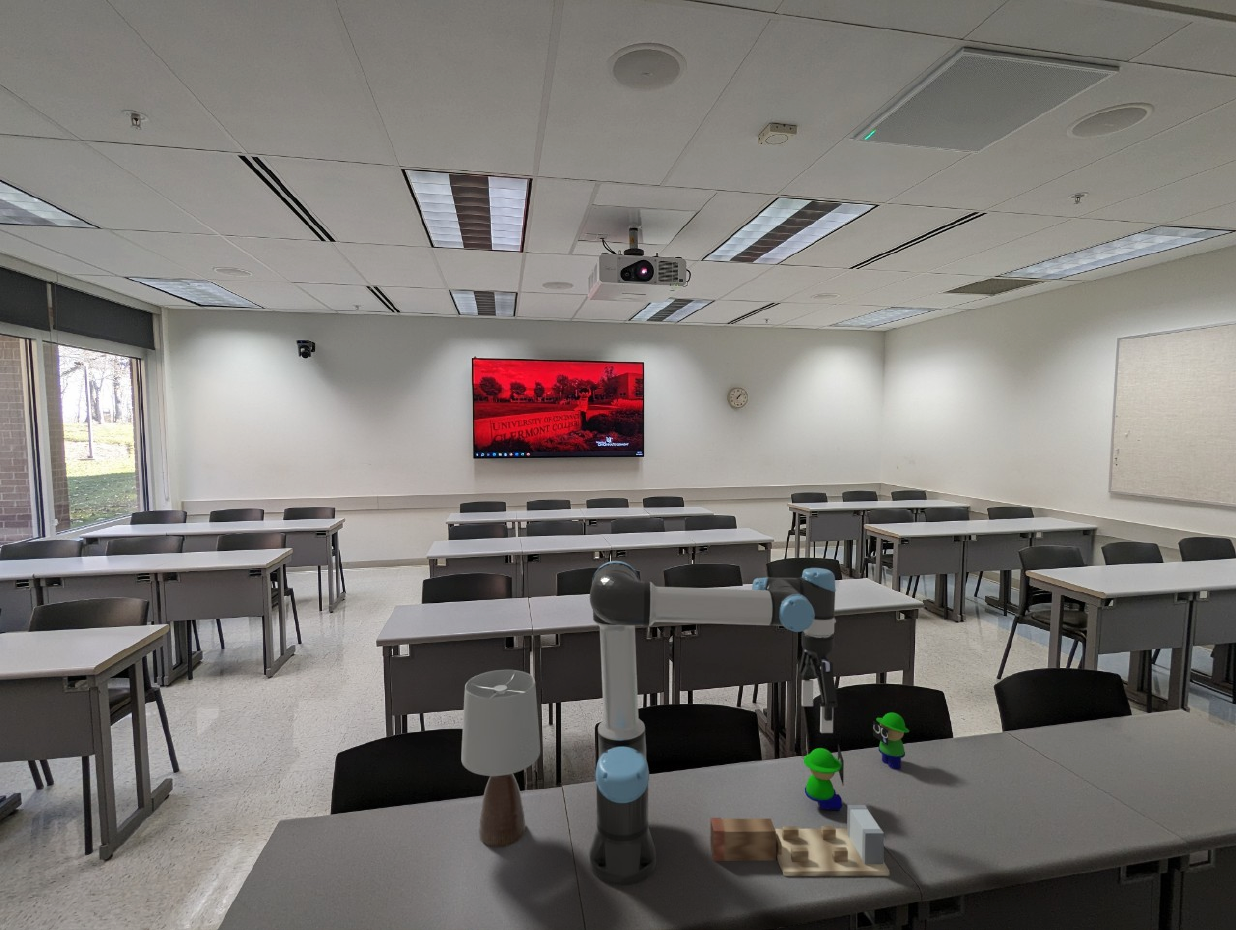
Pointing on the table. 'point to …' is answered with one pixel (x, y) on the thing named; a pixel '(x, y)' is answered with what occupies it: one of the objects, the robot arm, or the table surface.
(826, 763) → the toy
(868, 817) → the pale blue brick
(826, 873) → the jig
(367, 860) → the table surface
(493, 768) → the lamp
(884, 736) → the toy
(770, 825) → the brown wooden block
